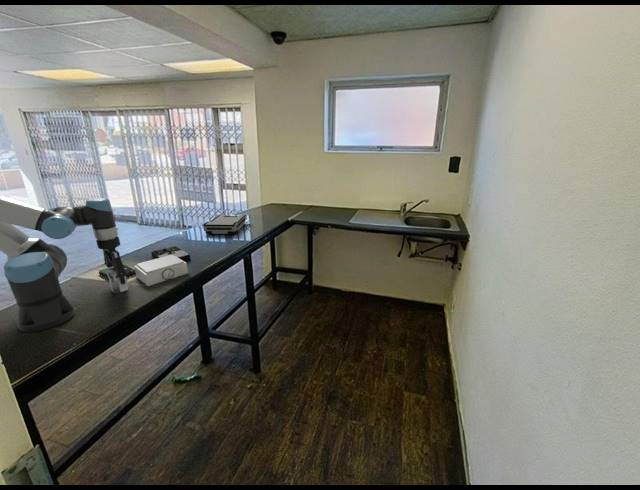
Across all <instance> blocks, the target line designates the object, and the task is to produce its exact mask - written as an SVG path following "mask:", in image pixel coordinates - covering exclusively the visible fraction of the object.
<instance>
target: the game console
mask: <svg viewBox="0 0 640 490" xmlns="http://www.w3.org/2000/svg"><path fill="white" fill-rule="evenodd" d="M247 220H248V217H247V214H239V215H227V214H218V215H216V216H215V217H214V218H213V219H211V220H210V221H206V222H204V223H203V224H202V227H203V232H205V234H206V235H207V236H216V235H219V234H220V235H226V236H236V235H237V234H238V233H239V232H240V231H241V229H242V228H244V226H245V225H246V224H245V223H246V221H247Z"/></svg>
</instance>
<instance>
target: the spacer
mask: <svg viewBox="0 0 640 490" xmlns="http://www.w3.org/2000/svg"><path fill="white" fill-rule="evenodd" d="M121 274H122V273H121ZM107 275H108V279H109V280H108V279H107V280H108V282H109V286H110V290H111V292H113V294H121V292H120V288H119V284H118V280H117V278H115V277H116V276H117V274H116V272H115V269H114V267H113V268H110V269H108V270H107ZM125 277H126V276H125ZM127 279H128V278H126V282H127V286H128V288H129V283H128V280H127ZM122 293H125V292H124V291H123V292H122Z"/></svg>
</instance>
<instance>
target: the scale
mask: <svg viewBox="0 0 640 490" xmlns="http://www.w3.org/2000/svg"><path fill="white" fill-rule="evenodd" d="M133 267H134V268H133V269H134V270H135V273H136V275H135V276H136V278H137V279H138V280H140V281H141V282H142V283H143V284H144V283H145V284H144V285H145V286H146V287H150V286H152V285H156V284H159V283H162V282H165V281H169V280H172V279H175V278H177V277H181V276H185V275H187V274H189V270H188V264H187V261H186V262H184V261H183V260H181V259H179V258H178V257H176V256H174V255H168V256H165V257H161V258H157V259H154V258H153V259H151V260H146V261H143V262H140V263H136V265H133Z"/></svg>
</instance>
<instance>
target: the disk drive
mask: <svg viewBox="0 0 640 490" xmlns="http://www.w3.org/2000/svg"><path fill="white" fill-rule="evenodd" d="M122 264H123V263H122ZM123 267H124V269H125V272H126V279H128V278H127V277H129V278H131V277H130V276H132V277H134V276H136V273H135V268H132V267H130V266H127V265H125V264H123ZM107 268H108V267H106V268H103V269H99V271H98V274H99V276H101V277H103V278H105V279H106V278H107V280H108V275H107V270H108V269H107ZM133 275H134V276H133Z"/></svg>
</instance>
